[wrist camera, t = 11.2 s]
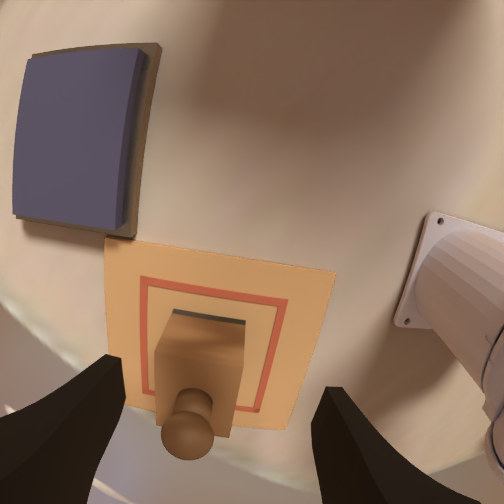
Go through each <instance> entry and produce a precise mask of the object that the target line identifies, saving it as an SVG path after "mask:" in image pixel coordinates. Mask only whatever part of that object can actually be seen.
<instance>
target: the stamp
mask: <svg viewBox="0 0 504 504" xmlns="http://www.w3.org/2000/svg"><path fill="white" fill-rule="evenodd" d="M245 327H246V320H240V319H234V318H227V317H221V316H215V315H209V314H203V313H197V312H191V311H185V310H180V309H173V311H172V314H171V316H170V318H169V320H168V322H167V324H166V327H165V329H164V331H163V333H162V335H161V338H160V340H159V342H158V344H157V347H156V349H155V351H154V379H155V408H156V425H158V426H162V429H161V439H162V442H163V445H164V447H165V448H166V450H168V452H169V453H170V454H172V455H173V456H175V457H177V458H179V459H182V460H196V459H199V458H201V457H203V456H204V455H206V454H207V453H208V452H209V451H210V449H211V447H212V445H213V442H214V436H219V437H226V438H229V436H230V431H231V426H232V422H233V417H234V412H235V407H236V402H237V397H238V392H239V388H240V383H241V378H242V373H243V368H244V348H245Z"/></svg>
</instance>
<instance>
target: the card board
mask: <svg viewBox="0 0 504 504" xmlns="http://www.w3.org/2000/svg"><path fill="white" fill-rule="evenodd" d="M335 277H336V274H335V272H330V271H323V270H317V269H310V268H304V267H298V266H291V265H285V264H278V263H272V262H265V261H259V260H253V259H246V258H240V257H234V256H227V255H221V254H215V253H209V252H202V251H196V250H190V249H184V248H178V247H171V246H165V245H159V244H153V243H147V242H141V241H135V240H128V239H122V238H116V237H110V236H106V237H105V238H104V279H105V305H106V322H107V335H108V346H109V355H112V356H116V357H120V358H121V360H122V369H123V377H124V385H125V392H126V400H125V403H124V404H126V405H130V406H133V407H137V408H142V409H146V410H150V411H154V412H156V408H155V379H154V351H155V349H156V347H157V344H158V342H159V340H160V338H161V335H162V333H163V331H164V329H165V327H166V324H167V322H168V320H169V318H170V316H171V314H172V311H173V309H180V310H185V311H191V312H197V313H203V314H209V315H215V316H221V317H227V318H234V319H240V320H246V327H245V348H244V368H243V373H242V378H241V383H240V388H239V392H238V397H237V402H236V407H235V412H234V417H233V422H232V425H234V426H243V427H252V428H263V429H275V430H285V429H286V426H287V424H288V421H289V418H290V416H291V413H292V411H293V408H294V405H295V402H296V400H297V397H298V394H299V391H300V389H301V386H302V383H303V380H304V377H305V374H306V372H307V369H308V366H309V363H310V360H311V357H312V354H313V351H314V348H315V345H316V341H317V338H318V335H319V332H320V329H321V326H322V322H323V319H324V316H325V312H326V309H327V306H328V302H329V299H330V295H331V292H332V288H333V285H334V281H335Z"/></svg>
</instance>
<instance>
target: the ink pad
mask: <svg viewBox="0 0 504 504" xmlns="http://www.w3.org/2000/svg"><path fill="white" fill-rule="evenodd" d="M161 52H162V47H161V46H160V45H159V44H158V43H127V44H109V45H96V46H85V47H77V48H69V49H61V50H55V51H49V52H43V53H37V54H32V58H31V59H28V61H27V65H26V70H25V74H24V79H23V84H22V90H21V96H20V102H19V109H18V116H17V124H16V133H15V144H14V158H13V184H12V205H13V214H15V215H16V219H22V220H28V221H34V222H40V223H46V224H52V225H58V226H64V227H70V228H76V229H82V230H88V231H94V232H100V233H106V234H112V235H119V236H125V237H132V236H133V235H135V234H136V233H137V221H138V207H139V195H140V184H141V175H142V166H143V157H144V149H145V142H146V134H147V127H148V121H149V115H150V108H151V102H152V97H153V91H154V86H155V81H156V76H157V71H158V66H159V61H160V56H161Z"/></svg>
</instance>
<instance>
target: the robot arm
mask: <svg viewBox="0 0 504 504" xmlns="http://www.w3.org/2000/svg"><path fill="white" fill-rule="evenodd" d="M439 218H441V221H440V223H439V224H438V223H437V221H438V219H439ZM407 318H409V319H408V321H406V322H404V321H405V320H406V319H407ZM393 321H394V324H395V325H396V326H397V327H404V328H418V329H433V330H434V331H435V332H436V334H437V335H438V336H439V337H440V338H441V340H442V341H443V342H444V343H445V344H446V346H447V347H448V348H449V349H450V350H451V352H452V353H453V354H454V355H455V357H456V358H457V359H458V360H459V362H460V363H461V364H462V365H463V367H464V368H465V369H466V371H467V372H468V373H469V374H470V376H471V377H472V378H473V380H474V381H475V382H476V384H477V385H478V386H479V388H480V389H481V390H482V392H483V393H484V394H485V403H484V405H483V407H482V409H483V410H484V412H485V413H486V415H487V416H488V418H489V419H490V421H491V424H490V426H489V427H488V430H487V433H486V437H485V453H486V458H487V461H488V463H489V465H490V468H491V469H492V471H493V473H494V474H495V475H496V477H497V478H498V479H499V480H500V481H501V482H502V483H503V484H504V233H503V232H500V231H497V230H494V229H491V228H488V227H485V226H482V225H479V224H476V223H473V222H469V221H466V220H463V219H460V218H456V217H453V216H450V215H446V214H443V213H439V212H436V211H430V212H429V213H428V214H427V215H426V218H425V222H424V226H423V230H422V233H421V237H420V241H419V244H418V248H417V251H416V254H415V258H414V261H413V264H412V267H411V270H410V273H409V277H408V280H407V283H406V285H405V288H404V291H403V294H402V297H401V300H400V303H399V305H398V308H397V311H396V313H395V316H394V319H393ZM125 400H126V392H125V385H124V377H123V369H122V360H121V358H120V357H116V356H112V355H108V354H105V355H104V356H102V357H101V358H100V359H98V360H97V361H96V362H94V363H93V364H92V365H90V366H89V367H88V368H86V369H85V370H84V371H82V372H81V373H80V374H78V375H77V376H75V377H74V378H73V379H71V380H70V381H69V382H67V383H66V384H64V385H63V386H61V387H60V388H58V389H57V390H55V391H54V392H52V393H50V394H49V395H47V396H46V397H44V398H42V399H40V400H39V401H37V402H36V403H33V404H31V405H29V406H27V407H25V408H23V409H21V410H19V411H16V412H13V413H11V414H8V415H6V416H3V417H1V418H0V504H87V500H88V496H89V492H90V489H91V485H92V482H93V479H94V475H95V472H96V470H97V467H98V465H99V463H100V460H101V458H102V456H103V454H104V452H105V450H106V447H107V445H108V443H109V441H110V439H111V437H112V435H113V432H114V430H115V428H116V426H117V424H118V421H119V419H120V415H121V413H122V410H123V406H124V403H125ZM311 436H312V449H313V454H314V459H315V465H316V470H317V475H318V480H319V485H320V490H321V496H322V503H323V504H481V503H480V502H479V501H477V500H474V499H471V498H469V497H467V496H464V495H462V494H459V493H457V492H455V491H453V490H451V489H449V488H447V487H446V486H444V485H442V484H440V483H438V482H437V481H435V480H434V479H432V478H431V477H429V476H428V475H426V474H425V473H423V472H422V471H420V470H419V469H418V468H416V467H415V466H414V465H412V464H411V463H410V462H409V461H408V460H407V459H405V458H404V457H403V456H402V455H401V454H400V453H398V452H397V451H396V450H395V449H394V448H393V447H392V446H391V445H390V444H389V443H388V442H387V441H386V440H385V439H384V438H383V437H382V436H381V434H380V433H379V432H378V431H377V430H376V429H375V428H374V427H373V425H372V424H371V423H370V422H369V421H368V419H367V418H366V417H365V416H364V415H363V413H362V412H361V411H360V409H359V408H358V407H357V406H356V404H355V403H354V402H353V401H352V399H351V398H350V397H349V395H348V394H347V393H346V392H345V390H344V389H343V388H342V387H326V388H325V390H324V393H323V395H322V398H321V400H320V403H319V405H318V408H317V410H316V412H315V415H314V417H313V420H312V422H311Z"/></svg>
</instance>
